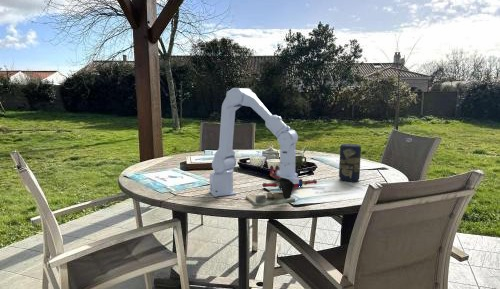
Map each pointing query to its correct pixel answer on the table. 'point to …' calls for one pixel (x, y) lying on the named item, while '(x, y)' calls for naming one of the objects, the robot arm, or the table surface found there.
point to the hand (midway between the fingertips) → (287, 198)
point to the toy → (274, 175)
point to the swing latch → (274, 195)
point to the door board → (262, 199)
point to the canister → (349, 162)
